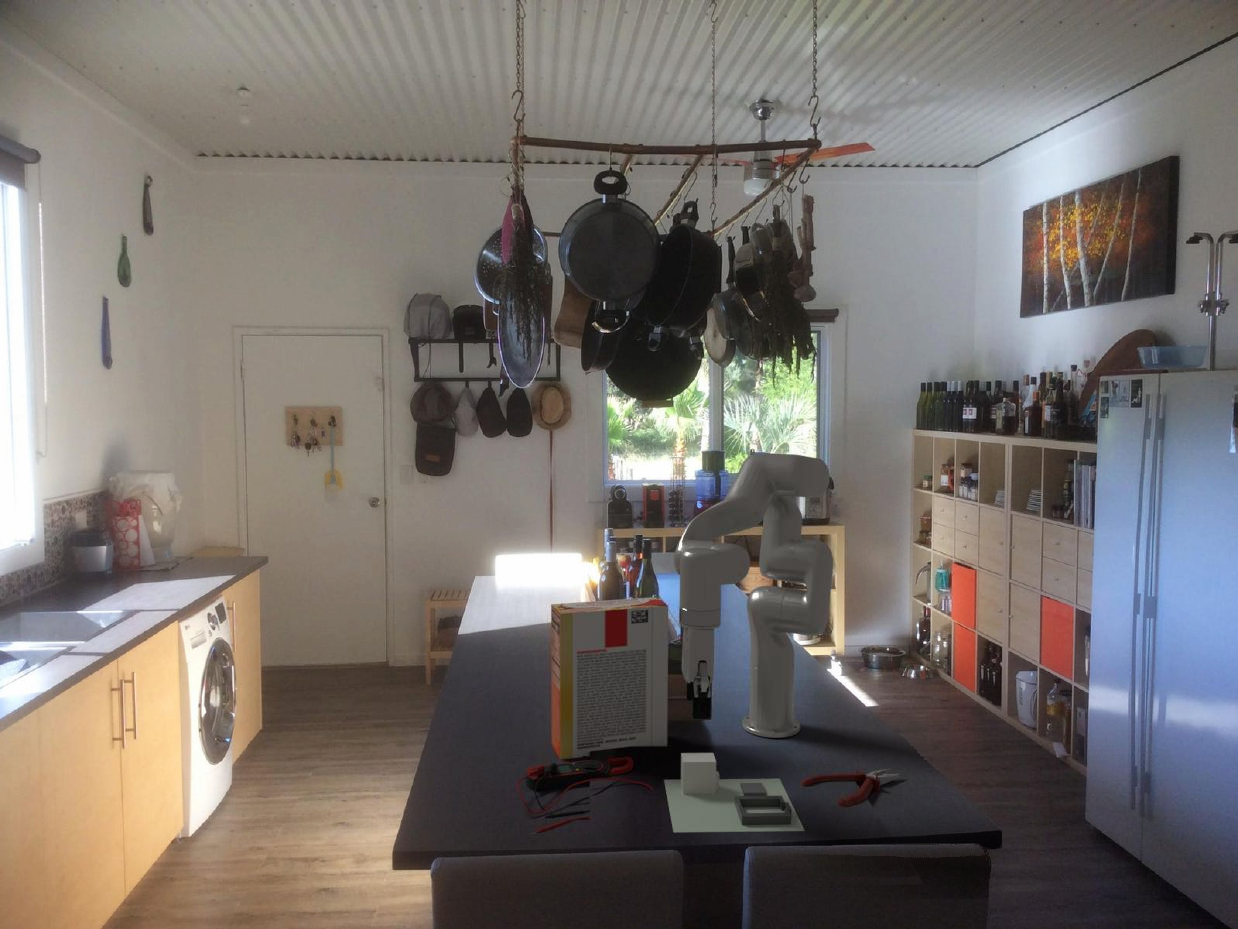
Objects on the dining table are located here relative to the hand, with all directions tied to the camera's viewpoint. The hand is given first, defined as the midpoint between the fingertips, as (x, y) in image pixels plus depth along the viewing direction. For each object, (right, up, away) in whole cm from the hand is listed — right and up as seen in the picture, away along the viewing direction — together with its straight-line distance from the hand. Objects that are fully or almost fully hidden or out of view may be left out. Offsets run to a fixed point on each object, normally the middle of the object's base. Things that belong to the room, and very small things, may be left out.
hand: (698, 708), depth 163 cm
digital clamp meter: (-21, -17, +1) cm, 27 cm away
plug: (0, -15, +2) cm, 15 cm away
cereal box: (-17, -15, +24) cm, 33 cm away
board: (+5, -17, -4) cm, 18 cm away
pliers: (+30, -17, +3) cm, 35 cm away
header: (+10, -16, -8) cm, 21 cm away
